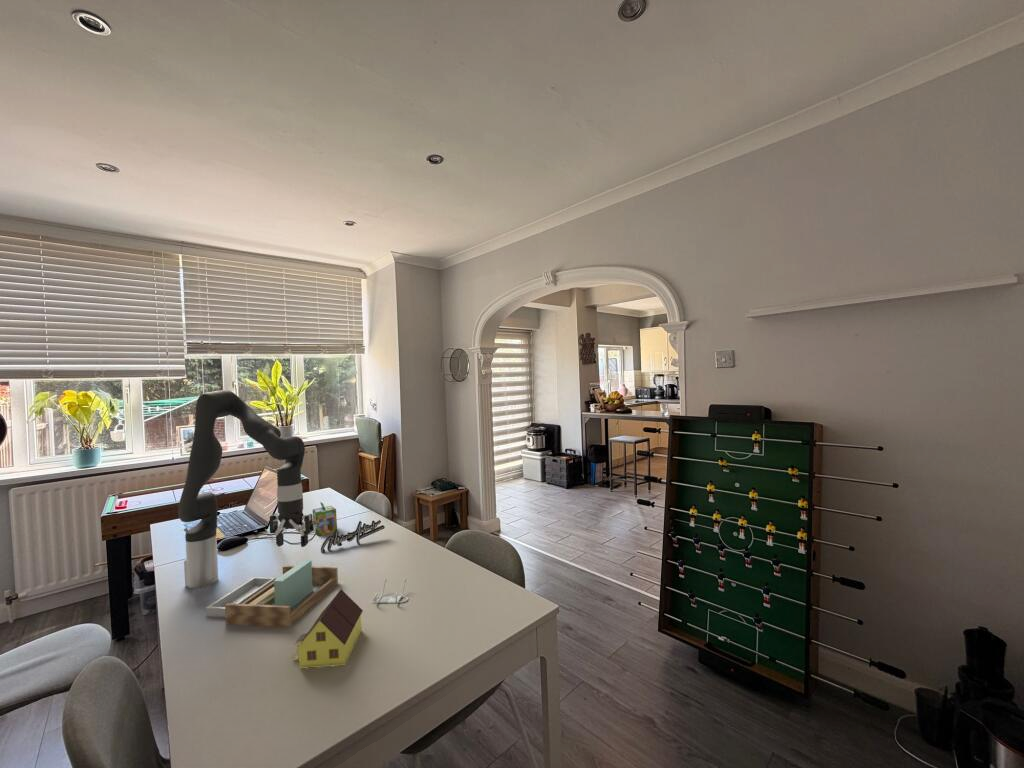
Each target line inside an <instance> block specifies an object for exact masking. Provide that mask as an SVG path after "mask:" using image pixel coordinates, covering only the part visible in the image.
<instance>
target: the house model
mask: <svg viewBox="0 0 1024 768" xmlns="http://www.w3.org/2000/svg"><path fill="white" fill-rule="evenodd" d="M363 612H364V611H363V609H362V608H361V607H360V606H359V605H358V604H357V603H356V602H355V601H354V600H353V599H352V598H351V597H350V596H349V595H348V594H347V593H346V592H345V591H344V590H343V589H340V590H338V592H337V593H336V595H335V596H334V597H333V599H332V600H331V601H330V602H329V603H328V604H327V606H326V607H325V609H324V610H322V612H321V613H320V615H319V616H318V618H317V619H316V620H315V622H314V623H313V625H312V626H311V628H310V629H309V631H308V632H305V633H303V634H300V635H299V636H298V638H297V639H296V641H295V642H294V645H296V647H297V648H296V653H295V654H292V662H294V661H298V660H299V669H300V668H305V669H309V668H308V667H318V668H320V667H319V666H331V667H334V666H333V665H344V666H345V664H347V661H348V659H349V657H350V655H351V653H352V651H353V649H354V647H355V644H356V642H357V640H358V638H359V636H360V635H361V632H362V618H361V617H362V616H361V615H362V614H363Z"/></svg>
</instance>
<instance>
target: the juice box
mask: <svg viewBox="0 0 1024 768" xmlns="http://www.w3.org/2000/svg"><path fill="white" fill-rule="evenodd" d="M320 505H321V507H317V508H314V509H313V508H312V518H313V528H314V531H313V533H314V532H315V533H316V534H315V533H314V534H315V535H316V536H317V537H320V536H325V535H329V534H333V533H334V532H335V531H336V530H337V531H338V523H337V522H338V521H337V520H338V519H337V518H338V517H337V508H335V507H334V506H332V505H327V506H325V505H324V503H323V502H321V501H320Z"/></svg>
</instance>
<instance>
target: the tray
mask: <svg viewBox="0 0 1024 768" xmlns="http://www.w3.org/2000/svg"><path fill="white" fill-rule="evenodd" d="M276 579H277V578H276V577H263V576H262V577H259V576H258V577H257V576H254V577H252V578H251V579H249V580H247V581H246V582H244V583H243V584H241V585H240V586H238V587H236V588H235V589H233V590H232V591H230V592H229V593H227V594H225V595H224V596H222V597H221V598H219V599H218V600H216V601H214V602H212V603H211V604H210V605H208V606H207V607H205V615H206V617H213V618H226V616H225V605H226V604H227V603H232V604H242V603H243V602H245V601H246V600H248V599H249V598H250V597H252V596H253V595H255V594H256V593H258V592H259V591H261V590H262V589H263V588H265V587H266V586H268V585H269V584H271V583H272V582H273V581H274V580H276Z"/></svg>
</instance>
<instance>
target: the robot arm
mask: <svg viewBox="0 0 1024 768" xmlns="http://www.w3.org/2000/svg"><path fill="white" fill-rule="evenodd" d="M194 413H195V417H194V418H195V419H194V432H193V438H192V444H191V450H190V453H189V459H188V464H187V465H188V466H187V473H186V477H185V481H184V486H183V490H182V493H181V495H180V499H179V503H178V507H177V508H178V510H177V514H178V518H179V519H180V522H183V523H192V522H195V521H196V522H197V521H199V520H200V521H199V522H198V523H197V524H196V525H195V526H193V527H192V528H190V529H189V530H187V531H186V532H185V537H184V538H185V554H186V555H185V556H186V559H184V561H183V566H184V567H183V569H184V571H183V572H184V587H185V586H187V588H188V589H189V588H190V590H197V589H198V588H199V589H203V588H206V587H209V586H212V585H213V584H215V583H217V582H218V581H219V565H218V564H219V561H218V542H217V541H218V539H217V529H218V501H217V497H216V495H215V493H213V492H211V491H208V492H202V493H200V492H201V490H202V488H203V486H205V485H206V484H207V482H208V481H209V480H210V479H211V478H212V477H213V476H214V475H215V474H216V472H217V471H218V469H219V468H220V466H221V462H222V457H223V447H222V444H221V442H220V441H219V438H217V437H216V435H215V430H214V429H215V423H216V420H217V418H218V419H219V418H224V417H227V416H232V417H234V418H236V419H238V420H239V421H240V422H241V424H242V427H243V431H244V433H246V435H247V436H248V437H249V438H251V439H252V440H254V441H255V442H257V443H258V444H260V445H261V446H262V447H263V448H264V450H265V451H266V452H267V453H268V455H270V456H271V457H272V458H273V459H275V460H279V461H285V462H284V464H283V465H282V466H280V467H279V468H278V469H277V472H276V481H277V489H276V498H277V499H276V500H277V513H275V514H274V513H273V514H272V515H270V516H269V534H273V535H275V544H276V545H277V547H279V548H280V547H282V546H283V545H284V541H285V540H284V531H285V529H287V530H288V529H292V530H293V529H295V531H296V532H298V533H299V534H300V546H301V548H305V547H306V546H307V545H308V544H309V534H311V533H314V528H313V513H309V514H304V513H303V511H304V496H303V495H304V494H303V493H304V492H303V485H302V484H303V483H302V471H301V470H302V467H303V463H304V462H303V461H304V457H305V451H306V446H305V443H304V441H303V439H302V438H301V437H299V436H296V435H294V436H287V437H283V438H282V437H281V436H282V433H281V430H280V429H279V428H278V427H276V426H275V425H274V424H272V423H270V422H269V421H268V420H266V419H264V418H263V417H262V416H259V415H258V414H257V412H255V411H254V410H253V409H252V408H251V407H250V406H249V405H248V404H247V403H245V401H244V400H243V399H241V398H240V396H238V394H236V393H234V392H233V391H231V390H229V389H220V390H215V391H214V390H213V391H208V392H204V393H202V394H200V395H199V397H197V400H196V404H195V412H194Z"/></svg>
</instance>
